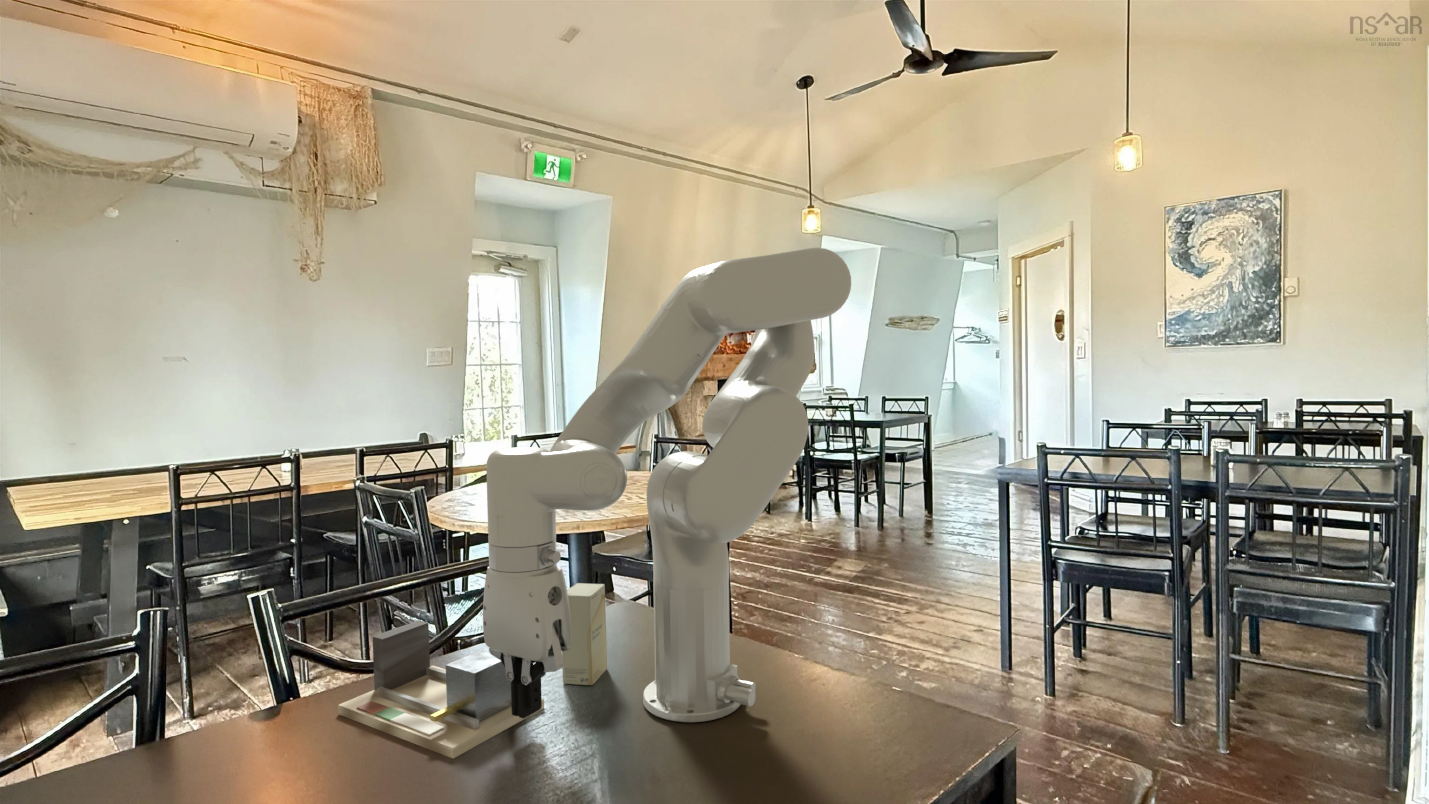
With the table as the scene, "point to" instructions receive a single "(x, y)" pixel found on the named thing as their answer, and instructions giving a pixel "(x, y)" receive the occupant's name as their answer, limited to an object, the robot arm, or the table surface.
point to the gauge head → (476, 687)
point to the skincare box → (586, 635)
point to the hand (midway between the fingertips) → (526, 711)
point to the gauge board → (418, 697)
